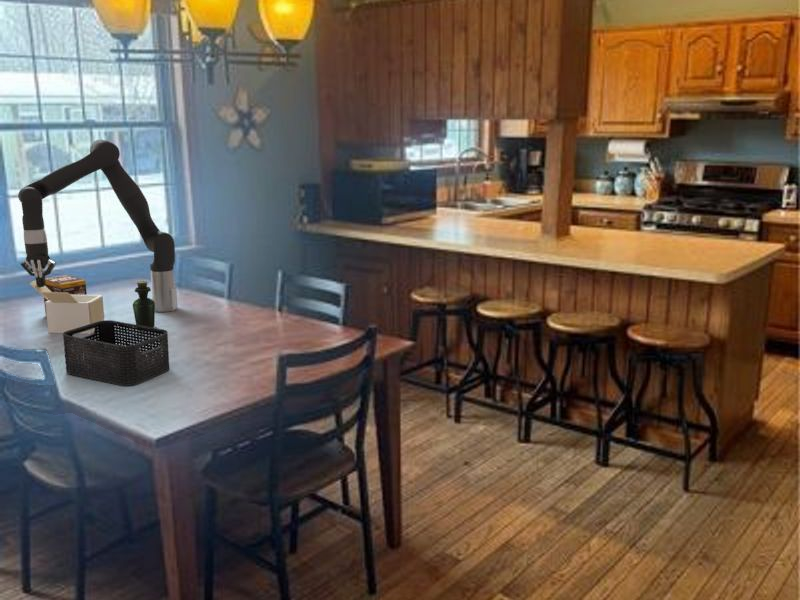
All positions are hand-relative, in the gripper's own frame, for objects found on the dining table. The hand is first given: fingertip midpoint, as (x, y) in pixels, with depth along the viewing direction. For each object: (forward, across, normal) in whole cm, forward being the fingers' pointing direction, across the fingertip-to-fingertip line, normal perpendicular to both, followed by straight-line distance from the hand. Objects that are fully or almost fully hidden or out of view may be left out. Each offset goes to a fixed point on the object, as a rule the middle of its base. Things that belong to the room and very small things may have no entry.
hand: (41, 286), depth 269 cm
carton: (+17, +12, 0) cm, 20 cm away
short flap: (+1, 0, 0) cm, 1 cm away
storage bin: (+18, +47, -46) cm, 68 cm away
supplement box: (+17, 0, +17) cm, 24 cm away
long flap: (+2, +12, -10) cm, 16 cm away
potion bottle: (+17, +37, +4) cm, 41 cm away
